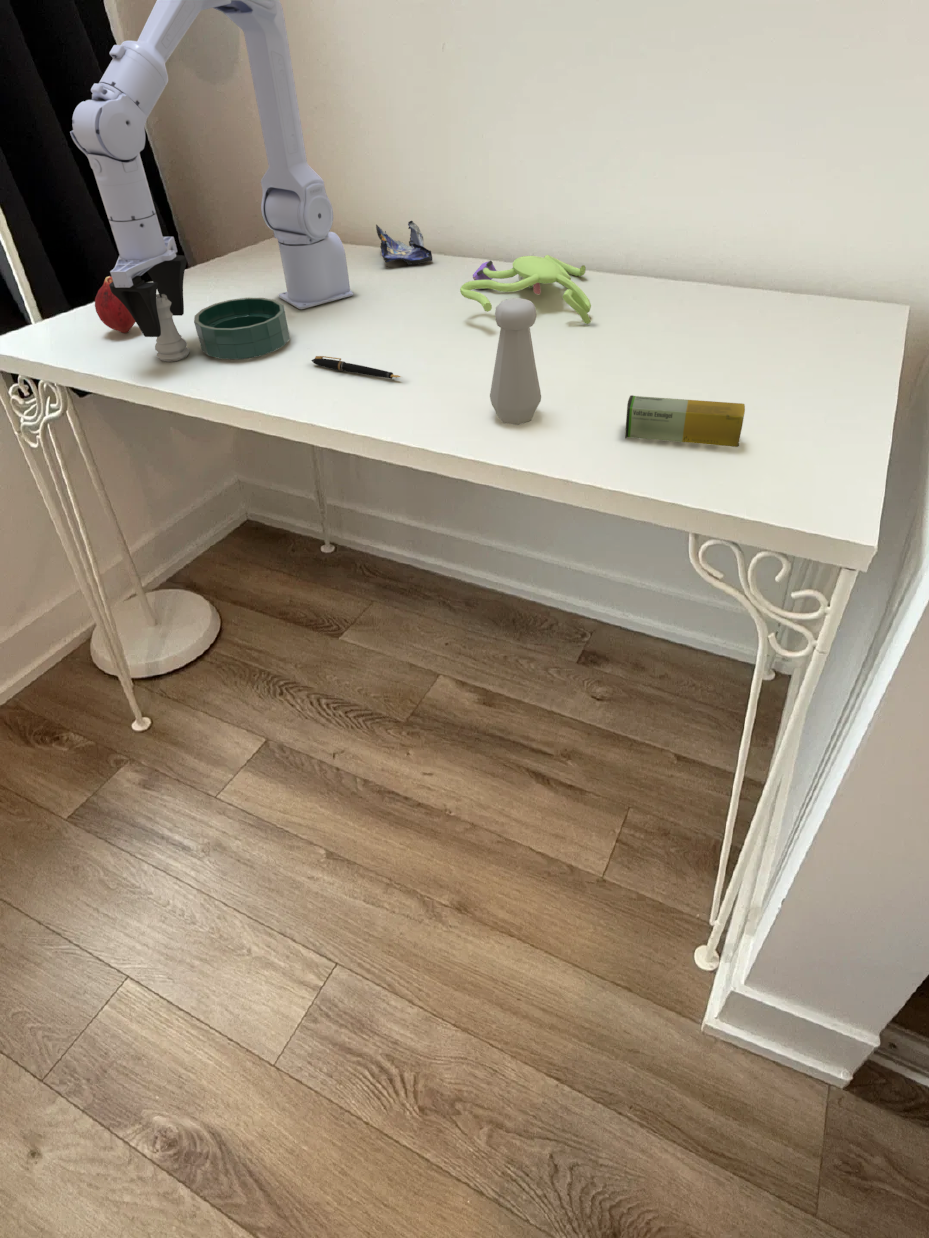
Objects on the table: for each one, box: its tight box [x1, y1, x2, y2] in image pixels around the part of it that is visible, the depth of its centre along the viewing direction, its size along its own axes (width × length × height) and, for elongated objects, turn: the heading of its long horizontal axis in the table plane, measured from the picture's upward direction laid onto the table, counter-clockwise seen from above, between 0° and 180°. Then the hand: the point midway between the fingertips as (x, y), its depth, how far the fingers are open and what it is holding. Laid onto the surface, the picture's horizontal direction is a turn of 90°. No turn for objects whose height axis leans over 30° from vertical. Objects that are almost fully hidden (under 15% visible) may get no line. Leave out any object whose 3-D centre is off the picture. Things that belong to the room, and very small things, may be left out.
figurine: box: [459, 254, 592, 325], centre depth 117 cm, size 18×27×6 cm
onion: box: [94, 275, 136, 334], centre depth 114 cm, size 6×6×8 cm
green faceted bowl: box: [193, 297, 291, 360], centre depth 109 cm, size 12×12×4 cm
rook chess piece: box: [154, 293, 190, 363], centre depth 106 cm, size 4×4×8 cm
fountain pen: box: [310, 355, 402, 380], centre depth 101 cm, size 14×1×2 cm, turn 62°
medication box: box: [624, 394, 746, 448], centre depth 83 cm, size 12×3×4 cm, turn 73°
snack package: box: [375, 220, 433, 268], centre depth 136 cm, size 12×6×12 cm
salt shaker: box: [489, 297, 542, 426], centre depth 86 cm, size 6×6×13 cm
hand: (164, 325), depth 106 cm, fingers open, 7 cm apart
